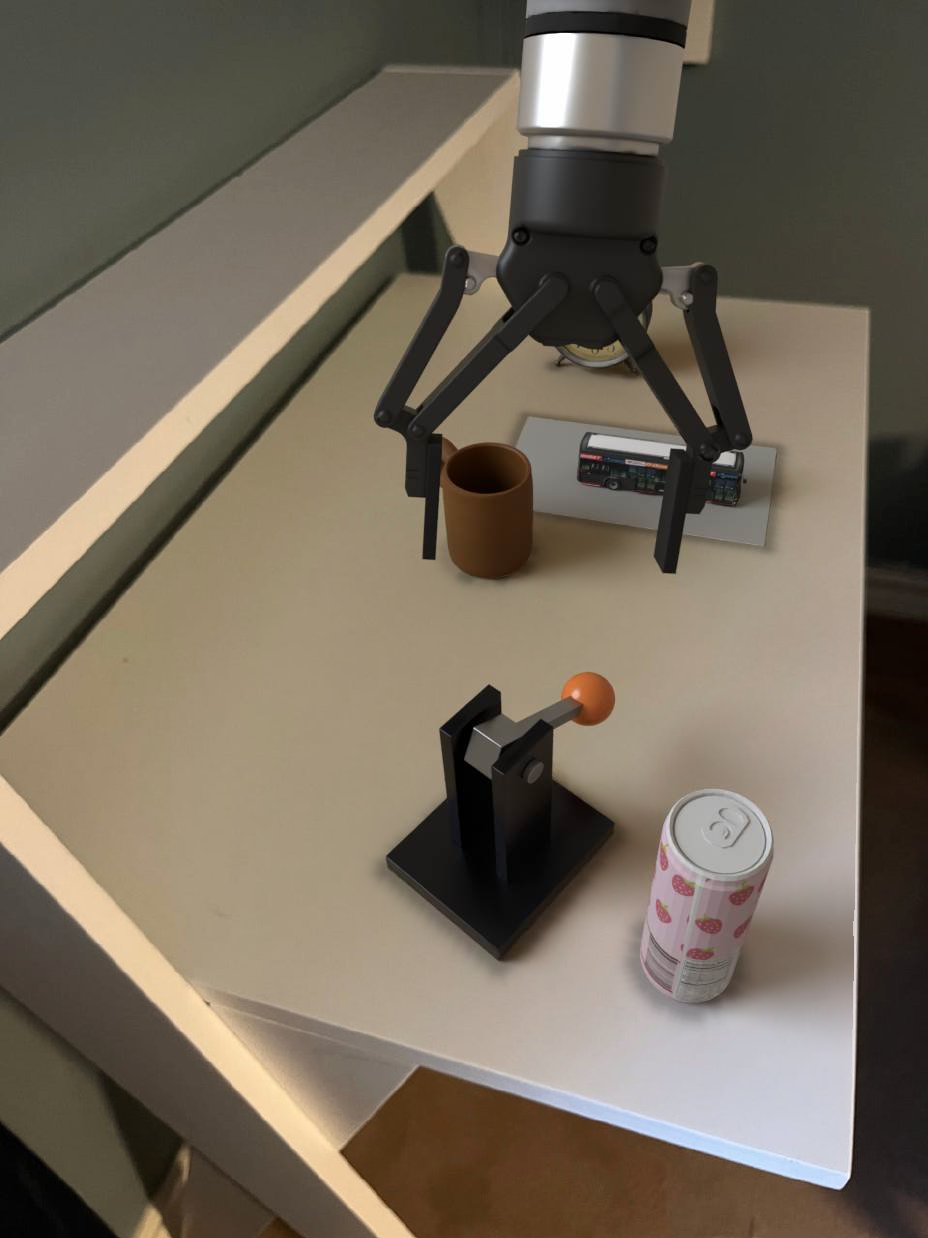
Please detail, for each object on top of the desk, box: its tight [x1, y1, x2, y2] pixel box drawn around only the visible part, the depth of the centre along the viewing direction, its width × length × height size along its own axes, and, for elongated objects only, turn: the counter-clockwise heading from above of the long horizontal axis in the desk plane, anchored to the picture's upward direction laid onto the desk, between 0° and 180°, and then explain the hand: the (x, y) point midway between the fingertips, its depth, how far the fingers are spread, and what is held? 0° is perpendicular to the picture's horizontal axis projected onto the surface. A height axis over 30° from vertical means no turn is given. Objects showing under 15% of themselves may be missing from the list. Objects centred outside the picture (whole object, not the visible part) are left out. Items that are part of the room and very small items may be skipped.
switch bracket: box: [385, 683, 616, 962], centre depth 60 cm, size 12×10×14 cm
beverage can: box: [639, 788, 775, 1004], centre depth 54 cm, size 6×6×15 cm
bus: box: [514, 415, 778, 547], centre depth 91 cm, size 14×25×4 cm, turn 73°
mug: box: [440, 436, 534, 579], centre depth 84 cm, size 12×8×9 cm, turn 40°
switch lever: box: [464, 671, 616, 779], centre depth 61 cm, size 13×4×4 cm, turn 138°
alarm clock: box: [554, 300, 654, 375], centre depth 100 cm, size 11×5×16 cm, turn 73°
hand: (547, 558), depth 55 cm, fingers open, 13 cm apart
